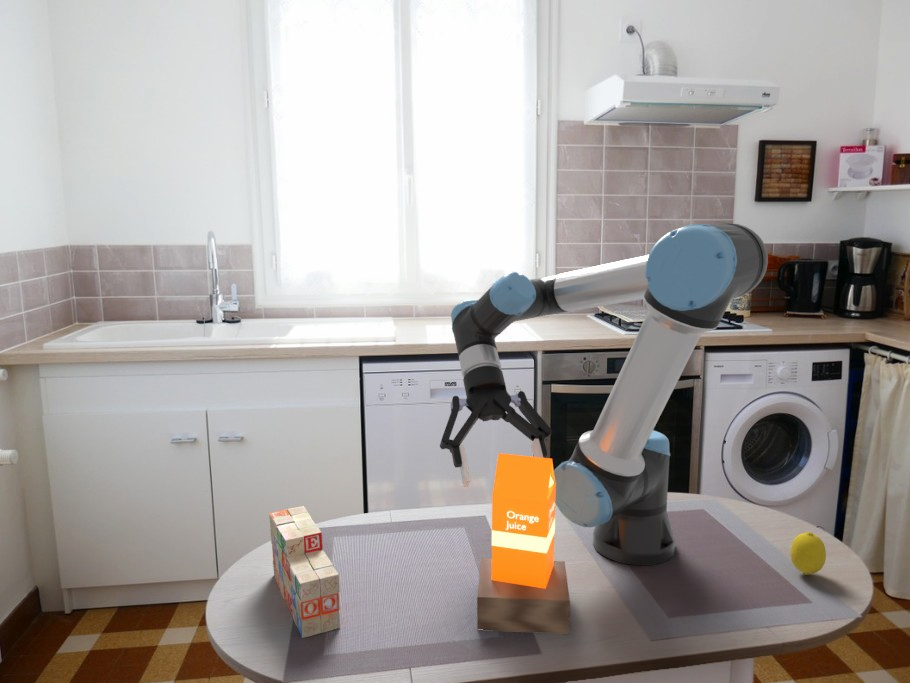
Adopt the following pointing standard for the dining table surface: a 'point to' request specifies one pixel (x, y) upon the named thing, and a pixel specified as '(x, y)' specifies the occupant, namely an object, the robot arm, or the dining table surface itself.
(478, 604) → the base brick
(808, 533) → the lemon
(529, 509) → the orange juice
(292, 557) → the stack of blocks
